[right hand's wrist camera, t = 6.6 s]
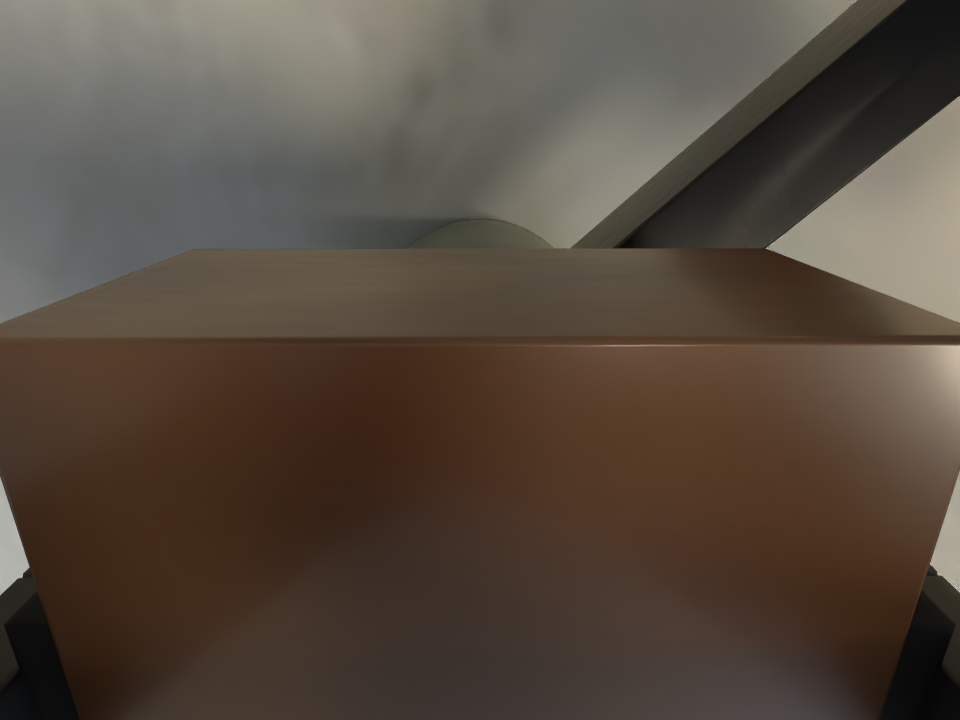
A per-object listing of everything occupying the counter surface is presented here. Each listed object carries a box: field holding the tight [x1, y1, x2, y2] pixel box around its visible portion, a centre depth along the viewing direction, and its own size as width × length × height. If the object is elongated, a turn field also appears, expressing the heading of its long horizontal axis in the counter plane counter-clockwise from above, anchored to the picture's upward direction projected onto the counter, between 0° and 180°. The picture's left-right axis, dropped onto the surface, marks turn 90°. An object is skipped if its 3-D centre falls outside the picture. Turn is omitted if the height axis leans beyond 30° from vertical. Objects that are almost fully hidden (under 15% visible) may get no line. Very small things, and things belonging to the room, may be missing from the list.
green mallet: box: [408, 0, 960, 249], centre depth 16 cm, size 25×8×12 cm, turn 132°
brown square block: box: [0, 248, 960, 720], centre depth 10 cm, size 10×10×5 cm
